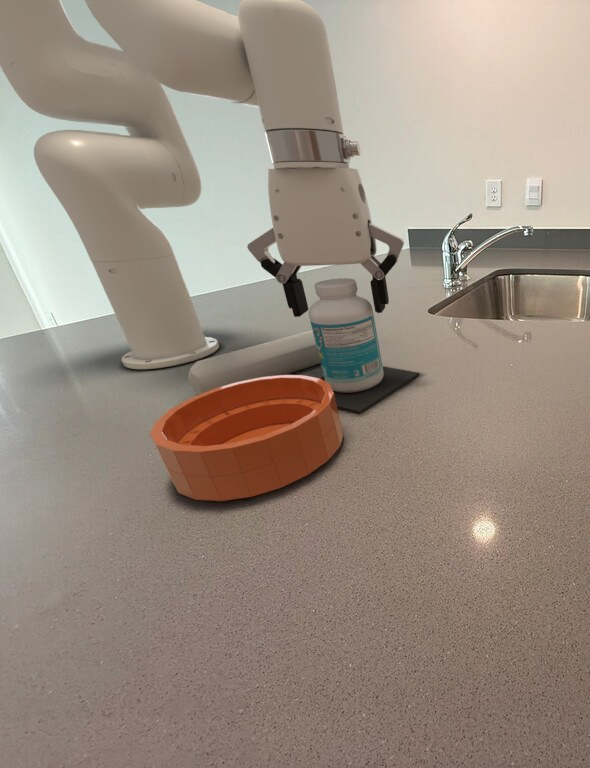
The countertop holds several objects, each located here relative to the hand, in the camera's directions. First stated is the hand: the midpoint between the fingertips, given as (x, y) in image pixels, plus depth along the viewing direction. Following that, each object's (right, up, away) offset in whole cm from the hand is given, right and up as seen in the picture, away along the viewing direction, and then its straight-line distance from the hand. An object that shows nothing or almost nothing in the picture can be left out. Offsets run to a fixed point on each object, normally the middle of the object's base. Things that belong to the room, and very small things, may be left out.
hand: (341, 311), depth 51 cm
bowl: (-3, -16, -10) cm, 19 cm away
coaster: (0, -9, +4) cm, 10 cm away
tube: (-11, -7, +10) cm, 17 cm away
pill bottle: (0, -9, +4) cm, 10 cm away
